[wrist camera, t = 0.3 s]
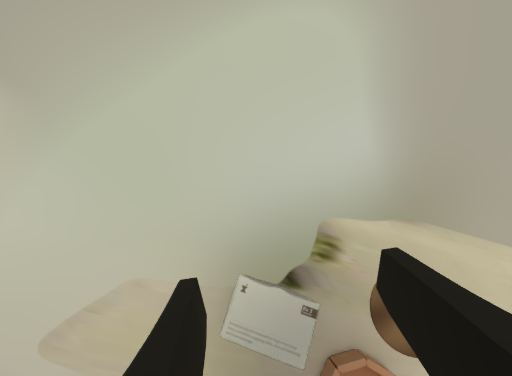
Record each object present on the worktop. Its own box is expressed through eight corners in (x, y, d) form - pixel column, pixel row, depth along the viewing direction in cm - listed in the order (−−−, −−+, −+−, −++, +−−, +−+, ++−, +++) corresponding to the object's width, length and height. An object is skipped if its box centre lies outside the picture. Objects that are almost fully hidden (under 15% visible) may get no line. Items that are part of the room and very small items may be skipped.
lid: (467, 342, 36) (497, 352, 31) (388, 366, 35) (406, 380, 31) (429, 259, 39) (450, 257, 35) (356, 280, 39) (368, 281, 34)
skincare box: (232, 314, 38) (211, 339, 23) (246, 272, 39) (235, 271, 25) (289, 337, 36) (303, 377, 22) (301, 292, 38) (322, 303, 24)
